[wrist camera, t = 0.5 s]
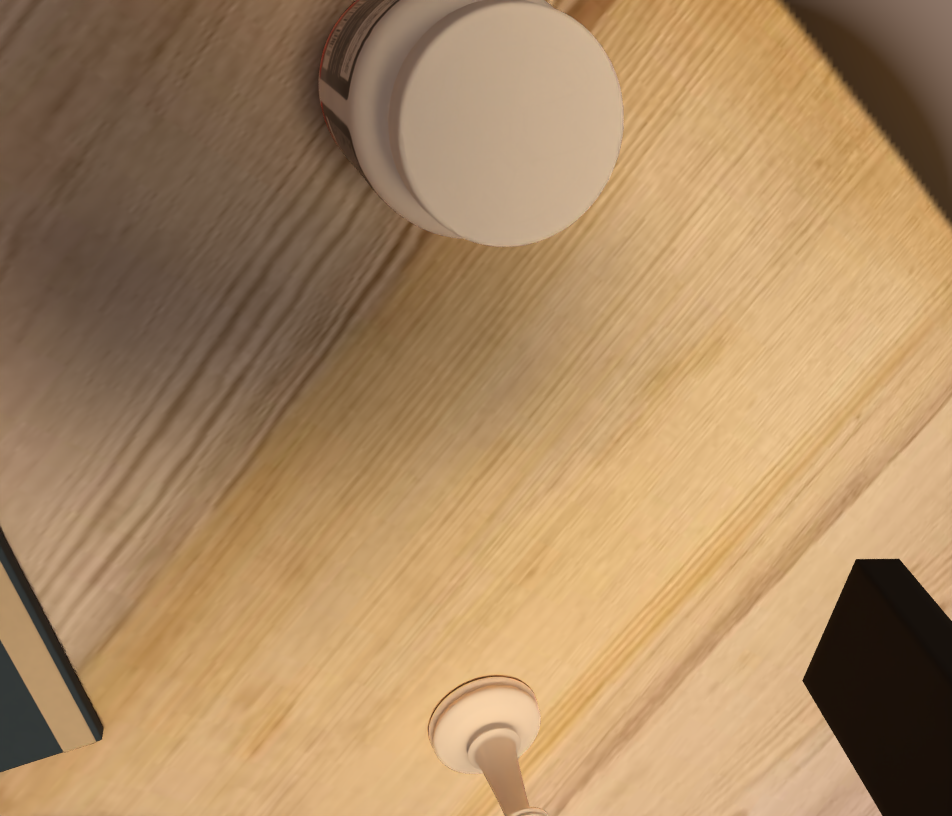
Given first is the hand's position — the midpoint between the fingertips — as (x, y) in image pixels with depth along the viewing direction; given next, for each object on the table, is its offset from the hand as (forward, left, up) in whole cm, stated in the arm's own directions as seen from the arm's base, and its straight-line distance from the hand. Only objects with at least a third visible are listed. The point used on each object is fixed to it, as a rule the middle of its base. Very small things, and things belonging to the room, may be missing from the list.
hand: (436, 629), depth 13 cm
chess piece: (+21, +2, -17) cm, 27 cm away
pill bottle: (-5, +4, -17) cm, 18 cm away
